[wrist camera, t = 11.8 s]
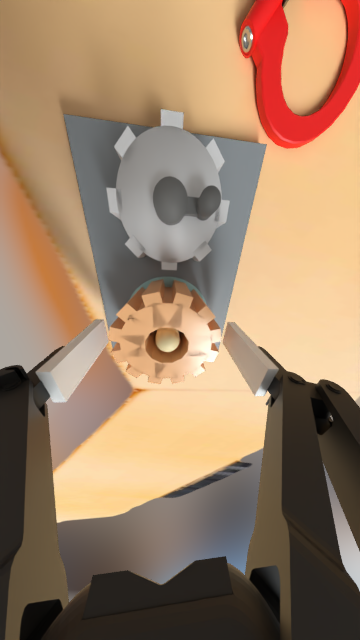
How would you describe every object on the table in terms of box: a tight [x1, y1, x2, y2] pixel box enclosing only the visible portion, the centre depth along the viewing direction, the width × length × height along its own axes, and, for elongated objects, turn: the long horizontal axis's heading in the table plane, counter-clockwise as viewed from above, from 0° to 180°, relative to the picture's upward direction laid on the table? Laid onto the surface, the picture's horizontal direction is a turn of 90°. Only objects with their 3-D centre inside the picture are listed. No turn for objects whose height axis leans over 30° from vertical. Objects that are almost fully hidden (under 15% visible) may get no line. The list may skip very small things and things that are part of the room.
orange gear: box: [108, 279, 222, 384], centre depth 15 cm, size 10×10×6 cm
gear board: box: [64, 109, 267, 352], centre depth 13 cm, size 22×16×7 cm
